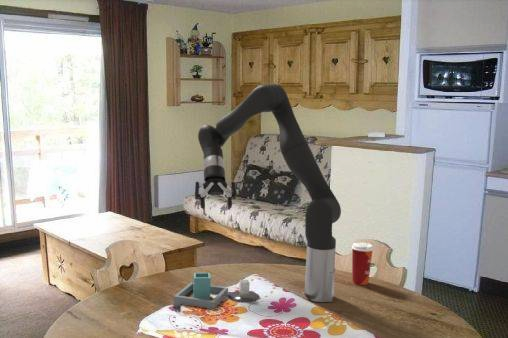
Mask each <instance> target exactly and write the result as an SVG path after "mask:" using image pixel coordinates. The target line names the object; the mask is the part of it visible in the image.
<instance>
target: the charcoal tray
mask: <svg viewBox="0 0 508 338" xmlns="http://www.w3.org/2000/svg"><path fill="white" fill-rule="evenodd" d="M193 283H194V282H189V283H188V284H187V285H186V286H184V287H183V288H182V289H181V290H180V291H179V292H177V293H176V294H175V295H173V308H176V309H182V305H187V306H193V307H201V308H206V309H212V310H213V309H215V308H216V307H217V306H218V305H219V304H220V303H221V302H222V301H223V300H224V299H225V298H226V297H228V295H229V287H225V286H218V285H212V284H210V294H217V295H216V296H215V297H214V298H213V299H210V300H205V299H199V298H193V297H191V296H187V295H189V293H191V292H193Z"/></svg>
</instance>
